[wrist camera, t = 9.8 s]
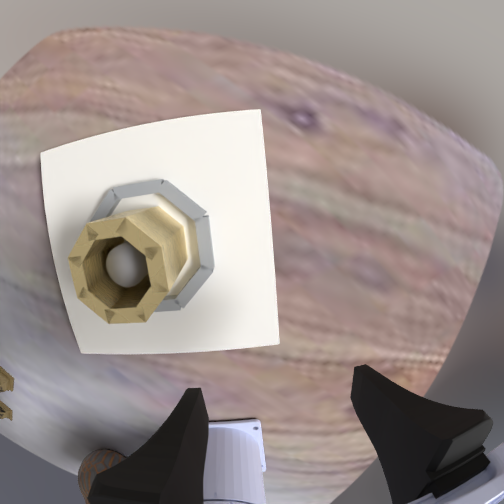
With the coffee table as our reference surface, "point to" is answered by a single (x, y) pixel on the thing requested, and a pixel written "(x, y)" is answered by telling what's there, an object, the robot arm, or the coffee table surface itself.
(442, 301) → the coffee table surface
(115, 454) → the vase
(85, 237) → the collar
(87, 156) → the post board
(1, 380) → the eiffel tower
